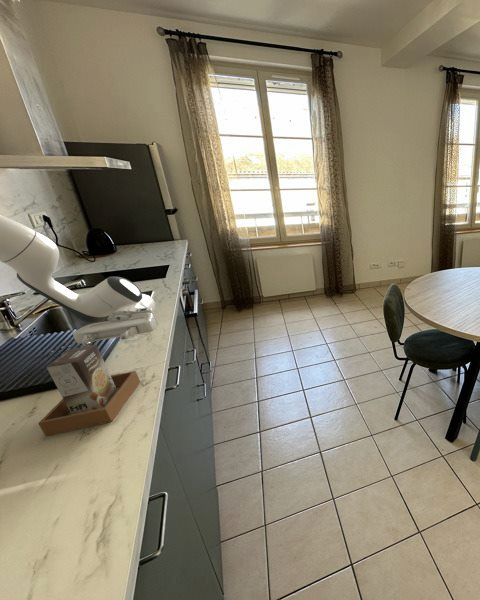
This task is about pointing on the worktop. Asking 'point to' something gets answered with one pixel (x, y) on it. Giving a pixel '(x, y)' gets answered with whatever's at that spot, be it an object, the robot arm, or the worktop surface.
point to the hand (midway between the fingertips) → (104, 340)
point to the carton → (64, 422)
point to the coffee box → (82, 379)
